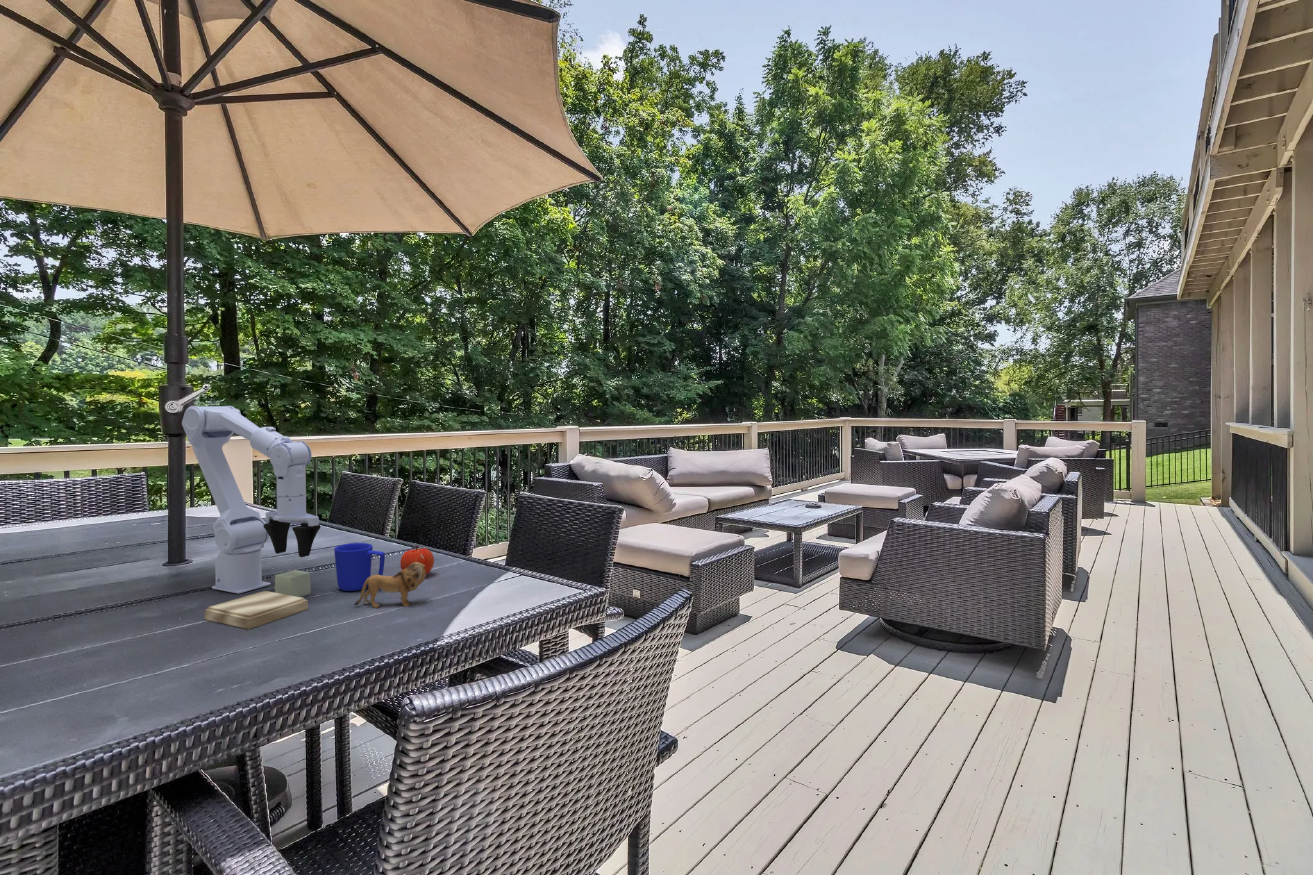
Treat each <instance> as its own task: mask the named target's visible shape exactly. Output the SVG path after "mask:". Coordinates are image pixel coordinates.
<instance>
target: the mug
mask: <svg viewBox="0 0 1313 875" xmlns="http://www.w3.org/2000/svg"><path fill="white" fill-rule="evenodd" d="M373 547H374V546H373V545H372V544H371V543H366V542H354V543H353V542H351V543H346V544H345V543H344V544H340V545H337V546H335V547H334V549H333V550H334V562H335V571H336V572H335V573H336V582H337V587H338V588H339V590H341V591H344V592H356V591H362V589H363V586H364V583H365V581H366V580H367V579H368V578H369V577H370V576H372V575H371V573H372V571H371V570H372V561H373V560H372V559H373V555H377V556H379V568H378V574H377V575H382V576H384V570H385V569H384V568H385V560H386V558H385V557H386V553H385V552H384V551H379V550H373ZM367 587H368V584H367Z"/></svg>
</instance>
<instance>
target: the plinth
mask: <svg viewBox="0 0 1313 875" xmlns="http://www.w3.org/2000/svg"><path fill="white" fill-rule="evenodd" d="M307 610H309V600H308V599H305V597H302V596H301V597H296V596H290V595H285V594H280V593H275V591H268V590H263V591H260V592H256V593H253V594H249V595H246V596H241V597H238V598H235V599H231V600H229V601H224V602H221V603H218V604H214V605H210V606H208V608H206V609H204V620H205V621H209V622H214V623H219V624H224V625H228V626H232V627H238V628H240V629H241V628H242V629H245V630H246V629H247V630H251V629H254V628H257V627H260V626H263V625H266V624H269V623H271V622H275V621H277V620H281V619H284V618H287V617H289V616H292V615H296V614H299V613H301V612H304V611H307Z"/></svg>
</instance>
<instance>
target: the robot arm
mask: <svg viewBox="0 0 1313 875" xmlns="http://www.w3.org/2000/svg"><path fill="white" fill-rule="evenodd" d="M181 425H182V428H183V430H184V432H185V435H186V437H187V439H188V442H189V444H190V445H191V447H192V451H193V453H194V456H195V458H196V460H197V462H198V465H199V467H200V470H201V472H202V474H203V477H204V480H205V482H206V484H207V487H208V488H209V491H210V493H211V496H212V498H213V501H214V503H215V505H216V507H217V510H218V512H219V516H218V517H217V519H216V520H215V521H214V522H213V524H212V526H211V527H212V530H213V532H214V543H215V545H216V547H217V548H218V550H220V552H219V553H218V555H217V556H216V558H215V560H214V562H215V563H214V565H215V566H214V570H215V571H214V572H215V573H214V574H215V575H214V576H215V585H213V586H211V589H213V590H217V591H218V590H219V591H223V592H228V593H233V594H242V593H245V592H249V591H253V590H257V589H260V588H263V587H267V586H270V585H271V582H268V581H263V579H262V576H263V575H262V549H263V548H265V544H266V543H267V542H268V541H269V538H270V541H271V543H272V546H273V549H274V554H282V553H286V552H287V547H288V546H287V545H288V543H287V542H288V535H289V531H290V530H289V529H290V527H291V524H295V525H296V524H297V526H293V527H292V531H293V533H294V535H295V538H296V542H297V543H296V544H297V552H298V553H297V554H298V556H299V558H306V557H309V556H310V554H311V551H312V548H313V547H312V546H313V544H314V541H315V538H316V536H317V534H318V533H319V531H320V530H321V524H320V522H319V521H320V518H319V516H317V515H313V514H311V513H307V487H306V486H307V483H306V482H307V478H306V477H307V476H306V475H307V474H306V469H307V468H306V466H307V465H309V464H310V462H311V460H312V455H313V454H312V450H311V447H310V446H309V444H307V443H306V442H305V441H303V440H297V441H293V440H292V439H291V437H289V436H284V435H283V434H281V433H280V432H278V431H276V427H273V426H263V427H259V426H258V425H256V424H255V423H254V422H252V421H251V420H249V419H248V418H247V417H245V416H243V415H242V414H241V410H240V409H238V408H235V407H234V406H232V405H225V406H224V405H223V406H217V405H215V406H213V405H212V406H202V405H201V406H197V405H190V406H189V407H188V408H186V409H185V411H184V414H183V418H182V421H181ZM234 434H236V435H238V436H240V437H242V438H244V439H246V440H248V441H249V445H250V447H251V448H252V449H254V450H255V451H256V452H259V453H260V454H261V455H263V456H265V457H267V458H269V462H270V464H271V465H272V468H273V473H274V476H275V477H276V511H275V510H273V511H268V512H267V511H266V512H265V520H264V519H263V518H262V517H261V515H260V514H261V513H260V512H259V511H257V510H254V509H253V508H251V507H248V506H247V504H246V502H245V500H244V498H243V495H242V493H241V490H240V488H239V485H238V484H237V482H236V479H235V476H234V474H233V472H232V471H233V470H231V467H230V464H229V462H228V460H227V457H226V455H225V453H224V451H223V447H224V445H225V444H227V443H229V441H230V440H231V439H232V436H233V435H234ZM267 522H268V523H267Z"/></svg>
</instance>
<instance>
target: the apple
mask: <svg viewBox="0 0 1313 875" xmlns="http://www.w3.org/2000/svg"><path fill="white" fill-rule="evenodd" d="M399 562H400V565H399V566H400V568H401V570H404V569H405V568H407V567H408V566H409V565H411V564H412V563H414V562H419V563H422V565H425V574H426V576H427V575H428V574H429V573H430V572H431V571H432V569H433V567H434V565H435V564H434V563H435V558H434V554H433V552H431V550H430V549H428V548H426V547H425V548H424V547H423V548H418V545H415V548H414V549H409V550H407V551H405V552H404V553H403V554H402V556H401V558H400V561H399Z"/></svg>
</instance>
